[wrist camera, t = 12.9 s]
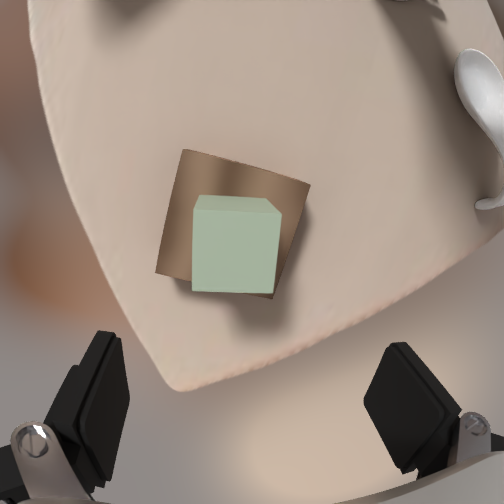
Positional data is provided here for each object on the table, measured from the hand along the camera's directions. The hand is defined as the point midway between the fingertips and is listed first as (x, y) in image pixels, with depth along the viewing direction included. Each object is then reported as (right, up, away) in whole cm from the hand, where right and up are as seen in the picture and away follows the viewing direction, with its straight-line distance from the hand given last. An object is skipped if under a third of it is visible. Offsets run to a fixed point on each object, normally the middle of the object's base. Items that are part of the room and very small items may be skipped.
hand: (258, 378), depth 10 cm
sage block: (-2, +6, +18) cm, 20 cm away
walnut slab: (-3, +8, +23) cm, 25 cm away
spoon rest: (+32, +22, +22) cm, 45 cm away
